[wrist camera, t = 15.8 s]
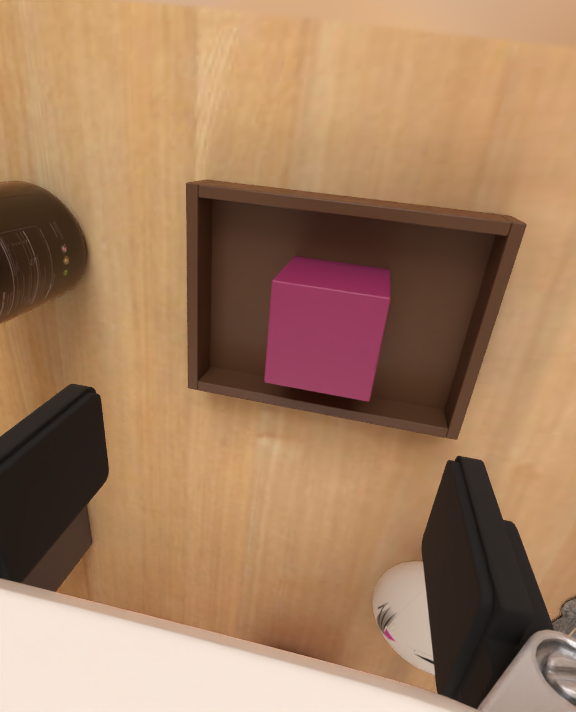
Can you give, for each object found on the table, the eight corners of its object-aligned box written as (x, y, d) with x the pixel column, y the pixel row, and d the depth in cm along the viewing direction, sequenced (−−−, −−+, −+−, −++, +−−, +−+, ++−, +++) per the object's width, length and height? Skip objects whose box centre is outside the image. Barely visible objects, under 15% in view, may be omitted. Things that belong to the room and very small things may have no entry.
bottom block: (30, 527, 38) (-78, 641, 29) (18, 474, 36) (-105, 581, 27) (92, 543, 37) (0, 665, 29) (84, 490, 35) (-20, 606, 26)
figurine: (359, 568, 32) (352, 663, 26) (396, 516, 29) (398, 608, 23) (460, 613, 32) (476, 718, 26) (506, 564, 29) (537, 669, 23)
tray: (204, 368, 28) (187, 388, 25) (206, 179, 23) (185, 182, 20) (450, 414, 25) (457, 440, 23) (511, 216, 21) (527, 223, 18)
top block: (285, 342, 25) (263, 382, 21) (294, 255, 23) (271, 280, 18) (373, 357, 24) (369, 402, 20) (390, 269, 22) (391, 298, 18)
